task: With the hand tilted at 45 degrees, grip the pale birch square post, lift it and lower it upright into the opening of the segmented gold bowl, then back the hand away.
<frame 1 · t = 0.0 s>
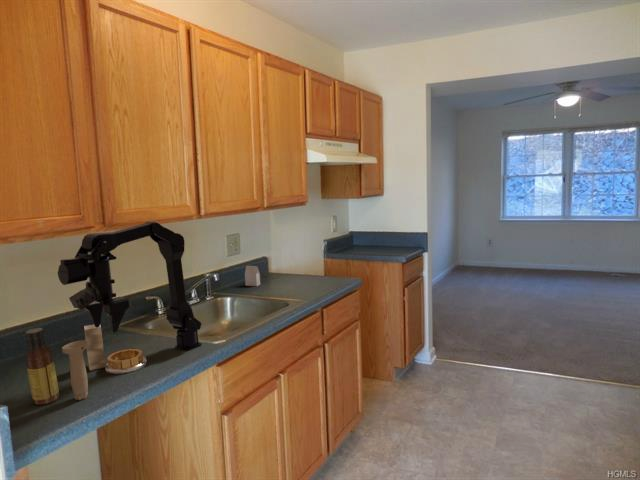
hand: (106, 329, 138), 15 cm above the counter, tool pointing down, fingers open, 9 cm apart
segmented gold bowl: (126, 365, 148), on the counter
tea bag: (252, 285, 248), on the counter
post: (97, 366, 149), on the counter
sauce bottle: (45, 401, 127), on the counter
handle: (81, 398, 128), on the counter
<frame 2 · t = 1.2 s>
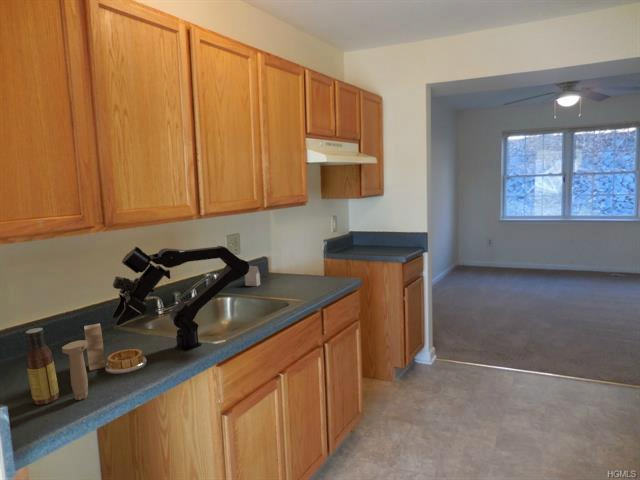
hand: (115, 321, 150), 13 cm above the counter, tool tilted 45°, fingers open, 9 cm apart
nothing on the counter moved.
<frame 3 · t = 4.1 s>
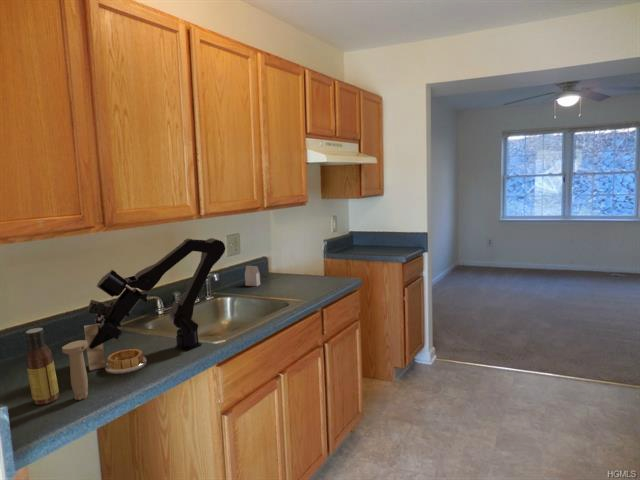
hand: (89, 345, 147), 7 cm above the counter, tool tilted 45°, fingers closed on post, 4 cm apart
post: (97, 366, 149), on the counter, touching gripper
everything else where it was.
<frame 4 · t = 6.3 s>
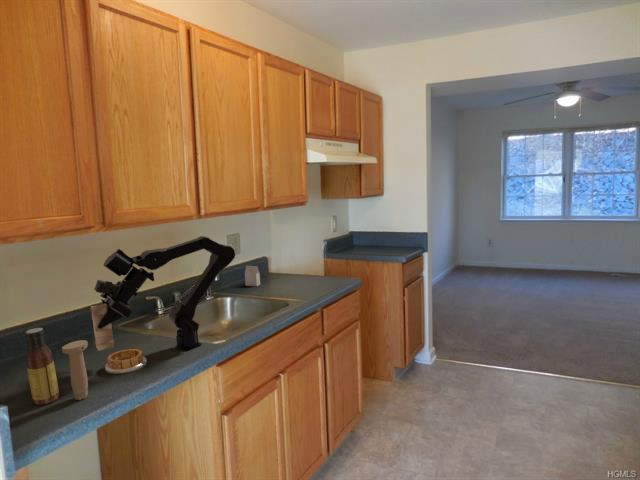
hand: (97, 325, 146), 13 cm above the counter, tool tilted 45°, fingers closed on post, 4 cm apart
post: (105, 346, 148), point 6 cm above the counter, touching gripper
everything else where it was.
when the fingers open (9 cm above the counter, at t = 8.6 s): post stays where it is, resting on segmented gold bowl.
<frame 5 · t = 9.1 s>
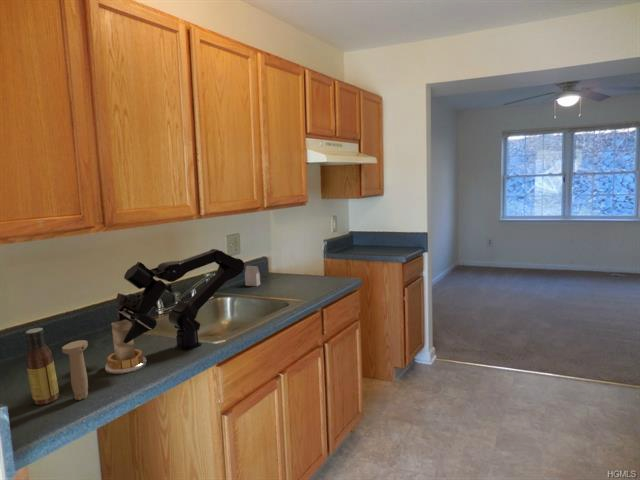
hand: (118, 339, 146), 9 cm above the counter, tool tilted 45°, fingers open, 9 cm apart
post: (125, 362, 148), point 1 cm above the counter, touching segmented gold bowl
everything else where it was.
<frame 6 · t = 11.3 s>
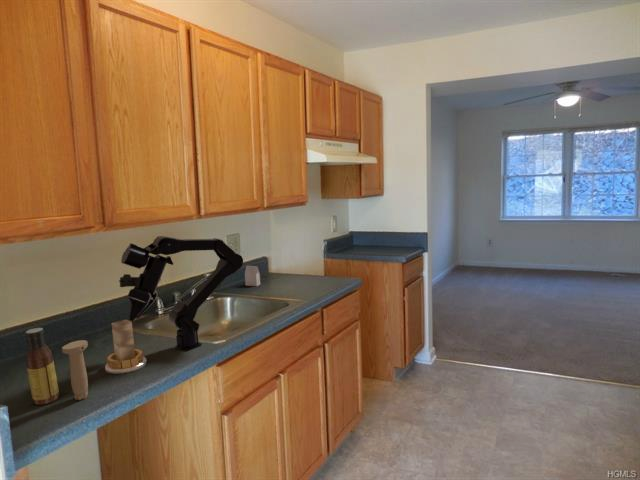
hand: (133, 319, 151), 13 cm above the counter, tool tilted 25°, fingers open, 9 cm apart
nothing on the counter moved.
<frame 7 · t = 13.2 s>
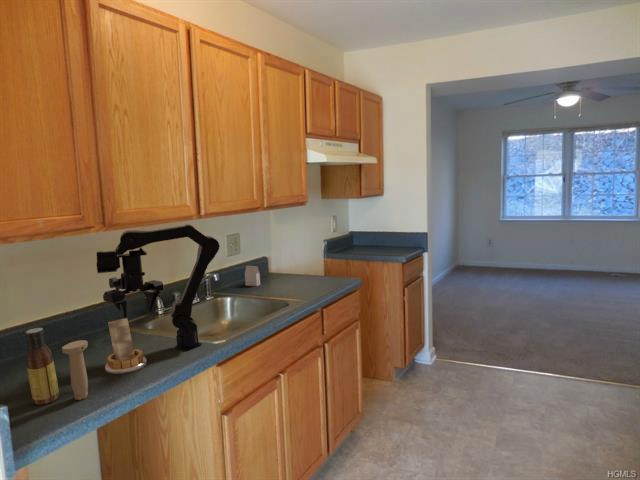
hand: (137, 316, 155), 13 cm above the counter, tool pointing down, fingers open, 8 cm apart
post: (125, 361, 148), point 2 cm above the counter, tilted 14°, touching gripper, segmented gold bowl
everything else where it was.
at the end: post 0.0 cm off-centre on the segmented gold bowl, point 1.5 cm above the segmented gold bowl's base; post tilted 14°; the gripper is holding nothing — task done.
